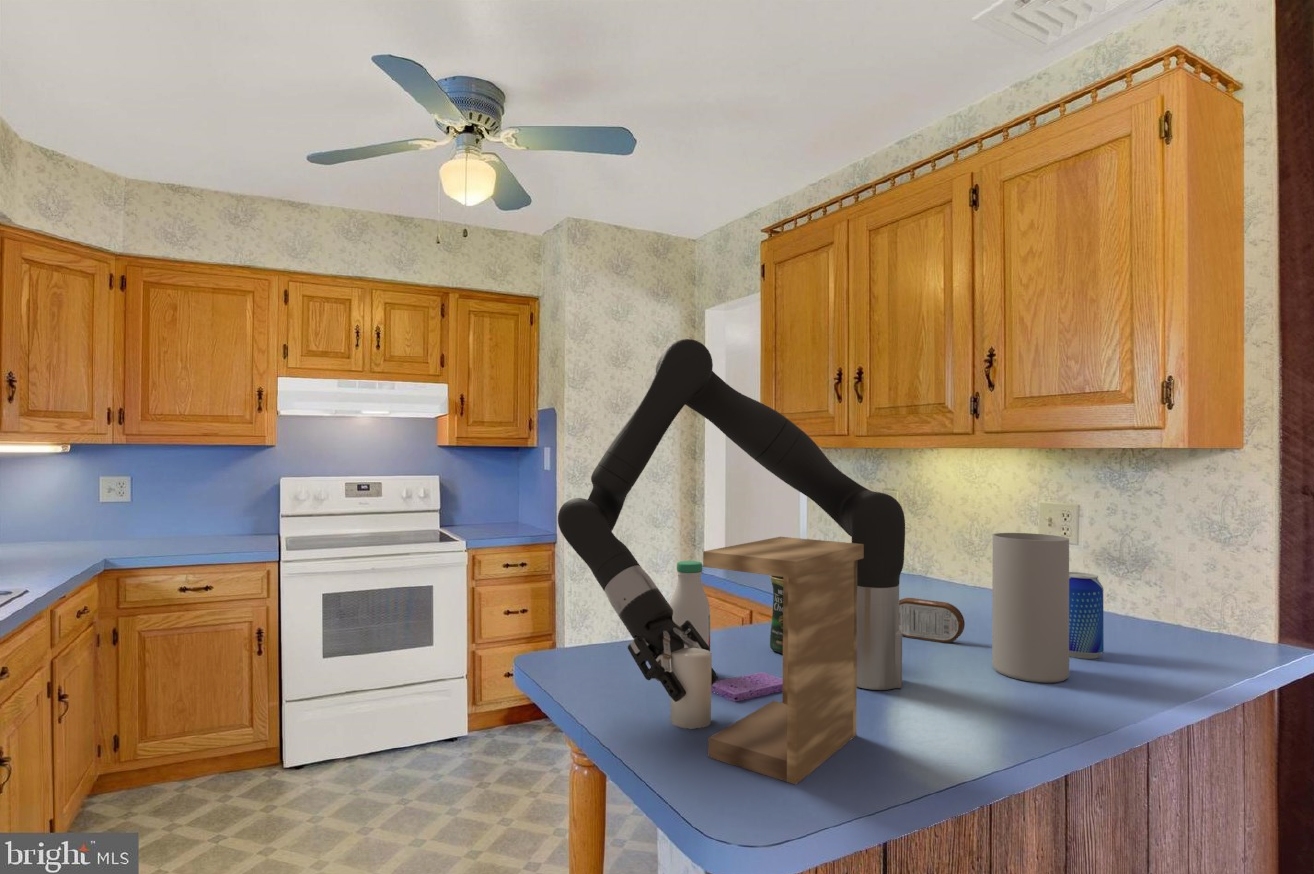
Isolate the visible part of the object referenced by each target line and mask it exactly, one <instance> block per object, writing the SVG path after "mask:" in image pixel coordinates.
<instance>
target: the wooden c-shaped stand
mask: <svg viewBox="0 0 1314 874" xmlns="http://www.w3.org/2000/svg"><path fill="white" fill-rule="evenodd" d="M862 558H864V544H857V543H852V542H846V541H833V540H832V541H831V540H821V539H811V538H800V537H798V538H797V537H788V536H787V537H786V536H776V537H771V538H767V539H762V540H755V541H751V542H745V543H741V544H736V545H729V546H724V547H718V548H714V549H710V550H709V549H707V550H704V551H703V552H702V568H711V569H717V570H726V571H733V572H740V573H741V572H742V573H749V574H750V573H751V574H757V575H766V576H771V575H772V576H780V577H783V654H782V679H783V691H782V698H781V699H782V702H781V701H776V700H772V701H770V702H769V703H767V704H765V705H763V706H761V707H760V708H758V709H756V710H754V711H753V712H750V713H749V714H747V715H746V716H744V717H743V718H741V719H739V720H737V721H735V722H733V723H731V724H730V725H729V726H727V727H725V728H723V729H722V730H720V731H718V732H716V733H714V734H713V735H710V736H709V737H708V756H707V757H708V758H710V759H714V760H717V761H720V762H723V763H726V764H729V765H733V766H736V767H738V768H743V769H745V770H749V771H751V772H755V773H757V774H761V775H764V776H768V777H770V778H774V779H777V780H781V781H784V782H787V783H790V784H793V785H797V784H798V783H800V782H801V781H802V780H803V779H804V778H806V777H807V776H809V774H811V773H812V772H813V771H815V770H816V769H817V768H818V767H819V766H821V765H822V764H823V763H824V762H826V760H828V759H829V758H830V757H832V756H833V755H834V754H835V753H837V752H838V751H839V750H841V749H842V748H843V747H844V746H845V745H846V744H848V743H849V742H850V741H851V740H852V739H854V738H855V737H857V715H858V714H857V706H858V704H857V702H858V701H857V699H858V698H857V697H858V695H857V694H858V693H857V692H858V691H857V689H858V687H857V560H859V559H862ZM854 736H855V737H854ZM853 737H854V738H853ZM851 738H852V739H851ZM850 739H851V740H850ZM849 740H850V741H849ZM848 741H849V742H848ZM847 742H848V743H847ZM837 750H838V751H837ZM831 755H832V756H831Z"/></svg>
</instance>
